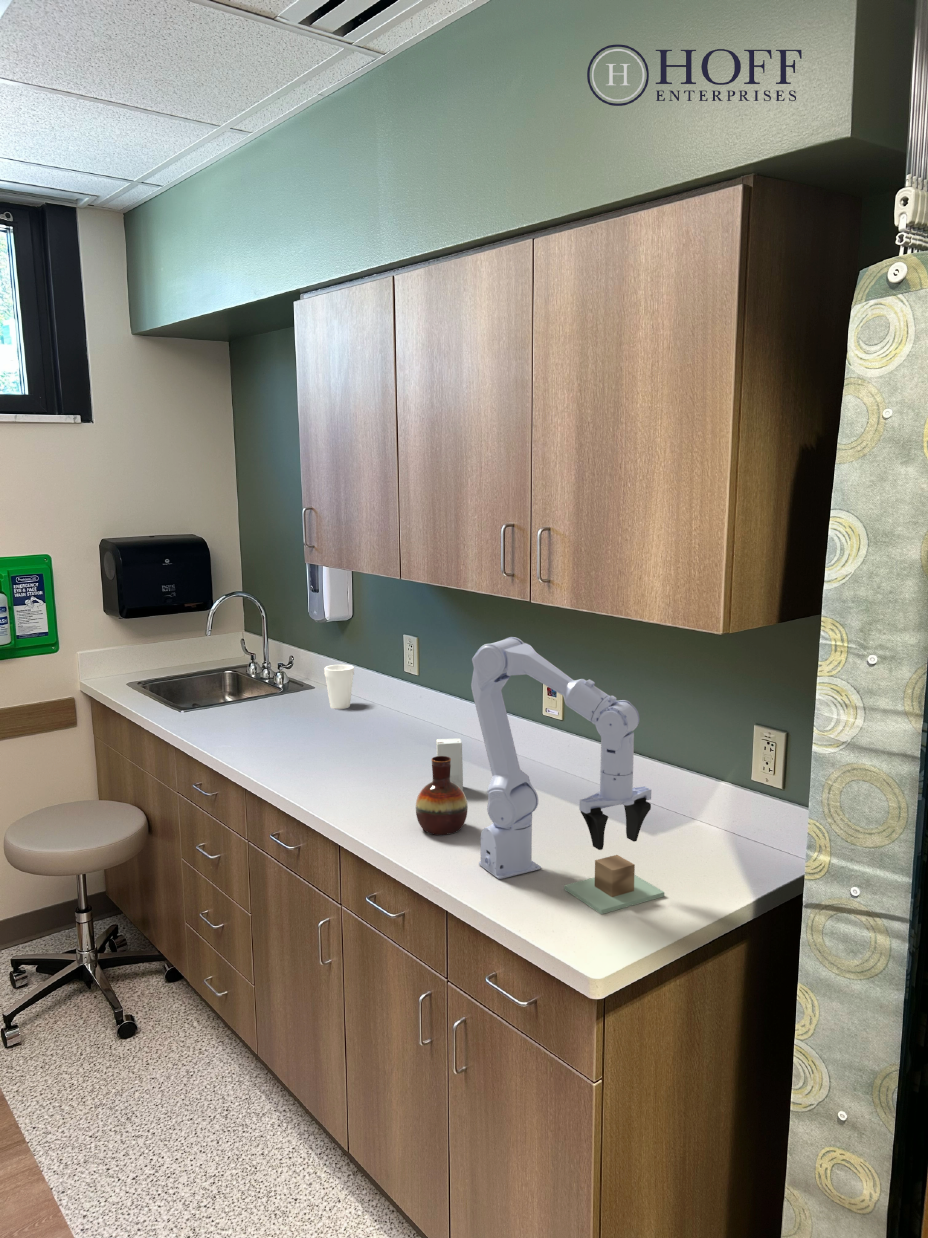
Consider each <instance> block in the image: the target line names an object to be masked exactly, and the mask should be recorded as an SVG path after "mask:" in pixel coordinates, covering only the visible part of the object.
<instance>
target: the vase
mask: <svg viewBox="0 0 928 1238" xmlns="http://www.w3.org/2000/svg"><path fill="white" fill-rule="evenodd" d="M450 768H451V758H450V757H447V756H437V755H436V756H434V757H432V758H431V770H432V781H431V782H429V783H427V784H426V785H425V786H424V787H423V788H422V789H421V790H420V791H419V793H418V795H417V798H416V801H415V814H416V819H417V821H418V824H419V826H420V827H421V829H422V830H424V831H425V832H426V833H428V834H431V835H436V836H437V835H438V836H447V835H451V834H455V833H457V832H459V830H461V829H462V828H463V826H464V824H465V823H466V819H467V816H468V809H469V808H468V807H469V805H468V799H467V796H466V795H465V792H464V790H463V791H462V790H461V788H460V787H459V786H457V785H456V784H455V783H453V782H451V781H450Z"/></svg>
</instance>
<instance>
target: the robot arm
mask: <svg viewBox="0 0 928 1238" xmlns="http://www.w3.org/2000/svg"><path fill="white" fill-rule="evenodd" d="M471 662H472V666H473V672H472V676H471V683H470V687H471V691H472V697H473V701H474V706H475V709H476V713H477V718H478V722H479V726H480V730H481V736H482V738H483V743H484V747H485V751H486V755H487V759H488V763H489V767H490V772H491V776H492V777H491V779H490V781H489V784H488V788H487V791H486V793H487V798H488V799H487V800H488V802H487V808H486V811H487V815H488V818H489V819H490V820H491V822H492V823H491V824H490V825H488V826H486V827H484V828H483V829H482V830H481V832H480V861H479V862H478V865H479V866H480V867H481V868H483V869H484V870H485V871H487V872H489V873H490V874H491V875H493V876H494V877H495V878H497V879H499V880H502V879H505V878H510V877H514V876H519V875H522V874H523V875H524V874H527V873H530V872H533V871H537V870H540V869H541V865H539V864H538V863H536V862H535V861H533V860H532V856H533V854H532V851H533V848H532V847H533V845H532V844H533V840H532V839H533V838H532V836H533V835H532V832H533V829H532V828H533V813H534V812H535V811H536V810H537V808H538V805H539V795H538V793H537V790H536V789H535V788H534V786H533V785H532V783H531V779H530V776H529V775H528V773H526V772H524V771H523V770H521V768H520V762H519V759H518V755H517V751H516V746H515V741H514V737H513V733H512V730H511V726H510V722H509V718H508V717H509V716H508V713H507V708H506V704H505V701H504V696H503V691H502V689H503V688H504V687H505V685H506V684H507V682H508V681H509V679H510V678H511V676H523V675H525V676H529V677H530V678H533V679H534V680H536V681H537V682H539V683H541V684H542V685H544V686H546V687H547V688H549V689H551V690H553V691H554V692H556V693H558V694H559V695H561V696H563V697H562V698H563V700H564V704H565V706H566V707H567V708H569V709H571V710H572V711H574V712H576V713H577V714H578V715H580V716H581V717H583V718H584V719H585V720H587V721H588V722H590V723H592V724H593V725H594V726H595V728H596V731H597V733H598V734H599V736H600V741H601V742H600V771H599V772H600V773H599V791H598V792H596V793H594V794H592V795H589V796H588V797H584V798H582V799H579V807H578V808H579V809H578V811H580V814H581V816H582V817H583V819H584V822H585V824H586V825H587V828H588V832H589V835H590V839H591V843H592V847H593V848H595V849H597V850H598V851H602V850H604V844H605V830H606V825H607V822H608V819H609V816H608V815H606V814H605V813H604V812H603V810H602V809H605V808H606V809H607V808H610V807H611V808H612V807H616V806H621V805H623V807H624V812H625V813H624V814H625V833H626V834H625V835H626V839H627V840H629V841H632V842H634V843H635V842H637V841H638V838H639V834H640V830H641V828H642V825H643V823H644V820H645V819H646V817H647V815H648V814H649V813H650V810H651V809H652V805H651V804H652V803H651V802H650V801H651V800H652V789H651V788H649V787H647V786H636V787H634V756H635V755H634V753H635V752H634V751H635V750H634V748H635V744H634V743H635V742H634V741H635V732H634V731H635V729H637V727H638V725H639V723H640V714H639V711H638V709H637V707H635V706H634V704H632V703H631V702H630V701H629V700H626V699H622V700H621V699H620V700H617V697H616V696H615V695H609V694H608V693H606V692H604V691H603V690H602V689H600V688H598V687H597V686H595V684H596V682H595V681H593V680H592V679H588V680H586V679H585V678H580V679H576V680H575V679H573V678H571V677H570V676H569V675H567V673H565V672H563V671H562V670H561V669H560V668H558V667H556V666H555V665H553V663H551V662H550V661H549V660H547V659H546V658H545V657H543V656H542V655H540V654H539V653H537V652H536V650H535V649H534V648H533V647H532V646H531V644H529V643H527V642H524V641H523V640H521V638H518V637H514V636H510V637H509V636H508V637H506V638H504V639H502V640H498V641H496V642H492V643H485V644H483V645H482V646H480V647H479V649H477V651H476V652H475V654H474V656H473V657H472V658H471ZM648 801H649V802H648Z"/></svg>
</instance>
